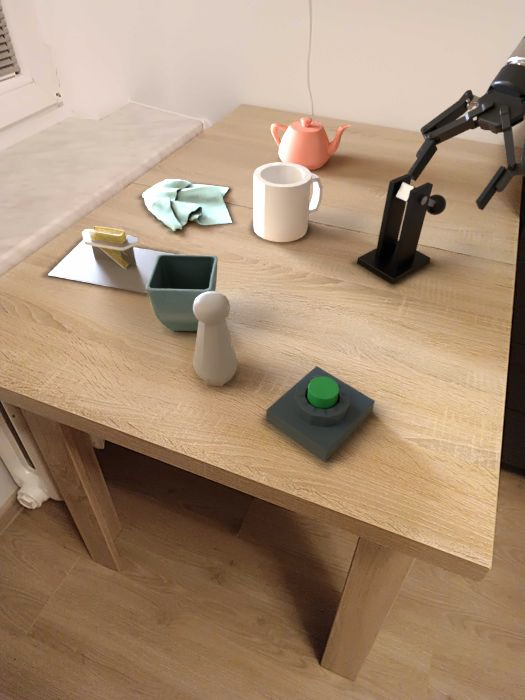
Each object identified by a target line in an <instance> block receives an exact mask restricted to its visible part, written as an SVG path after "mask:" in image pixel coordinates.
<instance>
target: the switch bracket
mask: <svg viewBox="0 0 525 700" xmlns="http://www.w3.org/2000/svg"><path fill="white" fill-rule="evenodd" d="M403 182H405V183H407V184H409V185H411V183H412V175H410V174H408V173H405V174H403V175H400V176H398V177H396V178H393V179H391V180H389V181H388V187H387V191H386V197H385V202H384V208H383V214H382V218H381V223H380V229H379V234H378V239H377V243H376V248H375V249H372V250H370V251H368V252H366V253H364V254H362V255H360V256H358V257H357V259H356V264H357V265H358V266H360V267H362V268H363V269H365V270H367V271H369V272H370V273H371V274H373V275H375V276H377V277H379V278H380V279H381V280H384V281H385V282H387V283H389V285H394V284H396V283H398V282H400V281H402V280H403V279H405V278H406V277H408V276H410V275H412V274H413V273H416V272H417V271H418V270H420V269H422V268H424V267H426V266H428V265H429V264H430V263H431V260H432V258H431V257H430V256H428V255H427V254H424V253H422V252H421V251H420V250H417V249H418V245H419V242H420V237H421V233H422V229H423V226H424V222H425V219H426V214H427V207H428V203H429V199H430V196H432V190H433V187H434V184H433V183H431V182H428V181H427V182H425V183H423V184H420V185H419V186H417V187H416V186H415V187H416V188H414V189H412V190H410V193H409V198H408V202H406V201H404V200H402V199H399V198H397V197H396V195H397V193H398V191H399V189H400V187H401V185H402V183H403Z"/></svg>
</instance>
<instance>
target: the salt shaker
mask: <svg viewBox="0 0 525 700" xmlns="http://www.w3.org/2000/svg"><path fill="white" fill-rule="evenodd" d="M230 310H231V306H230V301H229V299H228V297H227V296H226V295H225V294H223V293H221V292H219V291H216V290H215V291H209V292H205V293H202V294H200V295H199V296H198V297H197V298H196V299H195V301H194V304H193V311H194V314H195V316H196V318H197V319H198V320H199V322H198V330H197V331H196V339H195V347H194V353H193V360H192V361H193V362H192V367H193V368H194V371H195V373H196V375H197V376H198V377H200V378H201V379H202V381H204V383H205V384H206V385H207V386H212V387H213V386H214V387H223V386H224V385H225V384H227V383H228V382H230V381H231V380H232V379H233V378H234V375H235V373H236V371H237V368H238V363H239V360H238V357H237V354H236V350H235V346H234V344H233V340H232V337H231V334H230V330H229V327H228V322H227V320H226V319H227V318H228V317H229V315H230Z"/></svg>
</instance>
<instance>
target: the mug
mask: <svg viewBox="0 0 525 700" xmlns="http://www.w3.org/2000/svg"><path fill="white" fill-rule="evenodd" d="M312 185H313V188H312ZM311 189H312V197H311ZM323 189H324V186H323V184H322V181H321V177H320V176H319V175H316V174H315V173H312V171H311V170H308V169H307V168H306V167H304V166H301V165H299V164H294V163H288V162H282V161H275V162H268V163H264V164H262V165H260V166H258V167H257V168H256V169H255V170H254V172H253V230H254V232H255V233H256V235H257V236H258V237H261V238H262V239H264V240H266V241H270V242H274V243H275V242H276V243H288V242H289V243H290V242H293V241H297V240H300V239H301V238H303V237H304V236H305V235H306V234H307V231H308V226H309V214H312V213H316V212H318V211H319V209H320V206H321V202H322V200H323Z"/></svg>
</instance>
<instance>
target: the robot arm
mask: <svg viewBox="0 0 525 700" xmlns="http://www.w3.org/2000/svg"><path fill="white" fill-rule="evenodd" d="M474 107H475V108H474ZM474 118H476V119H474ZM523 122H525V35H524V36H523V37H522V38H521V40H520V41H519V43H518V44H517V46H516V47H515V48H514V50H513V51H512V52H511V54H510V55H509V57H508V58H507V60H506V61H505V63H504V65H503V66H502V67H501V68H500V70H499V71H498V73H497V74H496V75H495V77H494V79H493V80H492V81H491V83H490V84H489V86H488V88H487V90H486V92H485V93H484V94H483V95H482V96H477V95H475V94H474V93H473V91H472V90H471V89H467V90H466V91H465V92H464V93H463V94H462V95H461V97H460V98H459V99H458V100H456V102H454V103H452V105H450V106H449V107H447V108H446V109H444V110H443V111H441V113H439V114H438V115H437V116H435V117H434V118H433V119H431V120H430V121H429V122H427V123H426V124H424V125H423V126H421V128H420V134H421V135H422V138H423V140H424V141H423V143H422V144H421V146H420V147H419V148H418V150H417V152H416V154H415V157H416V159H415V161H414V162H413V164H412V165H411V167H410V168H409V170H408V171H407V174H410V175H412V179H411V181H414V182H417V180H418V179H419V177H420V176H421V174H422V173H423V172H424V170H425V168H426V167H427V166H428V164H429V163H430V161H431V160H432V158H433V157H434V155H435V154H436V153H437V151H438V147H437V146H438V145H440V144H442V143H444V142H446V141H448V140H451V139H453V138H454V137H456V136H458V135H460V134H463V133H465V132H467V131H469V130H476V129H478V128H480V130H483V131H490V132H491V133H493V134H495V135H498V134H503V142H504V151H505V160H506V167H505V166H503V165H500V167H499V168H498V169H497V171H495V174H494V175H493V176H492V178H491V179H490V180H489V182H488V183H487V184H486V185H485V187H484V189H483V190H482V191H481V193H480V195H479V196H478V197H477V199H476V200H475V204H476V206H477V208H478V210H480V211H484V209H485V208H486V207H487V205H488V204H489V202H490V201H491V200H492V198H493V197H494V196H495V194H496V193H500V194H501V193H502V192H504V191H505V189H506V188H507V186H508V185H509V184H510V182H512V180H513V178H514V177H516V176H523V177H525V140H524V141H523V142H524V143H523V148H522V153H521V160H520V162H517V156H516V148H515V140H514V132H513V128H514V127H515V126H517V125H519V124H521V123H523Z"/></svg>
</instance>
